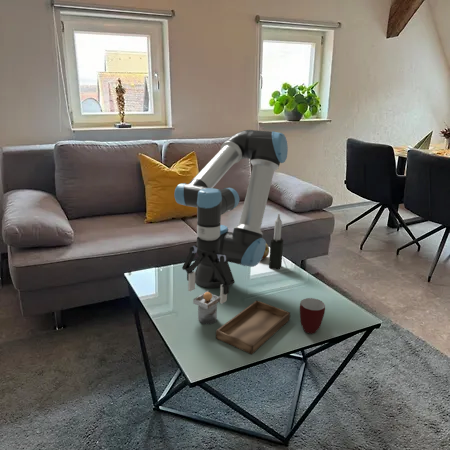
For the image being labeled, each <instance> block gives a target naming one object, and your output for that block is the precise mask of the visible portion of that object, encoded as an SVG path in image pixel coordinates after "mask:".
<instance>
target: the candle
mask: <svg viewBox="0 0 450 450" xmlns="http://www.w3.org/2000/svg"><path fill="white" fill-rule="evenodd" d="M282 224H283V222H282V219H281V214H280V213H278V214H277V217H276V219H275V220H274V230H273V231H274V232H273V233H274V234H273V237H272V238H271V239H270V245H269V246H270V247H269V261H268V269H273V270H277V271H279V270H281V268H282V261H283V250H284V239H283V238H281V237H282Z"/></svg>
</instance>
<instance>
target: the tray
mask: <svg viewBox="0 0 450 450" xmlns="http://www.w3.org/2000/svg"><path fill="white" fill-rule="evenodd" d="M290 318H291V312H289V311H286V310H285V309H282V308H279V307H276V306H273V305H270V304H268V303H265V302H262V301H260V300H255V301H253V303H251V304H249V305H248V306H247V307H246V308H244V309H243V310H242V311H240V312H239V313H238V314H236V315H235V316H234V317H232V318H231V319H229V320H228V321H227V322H225V323H224V324H223V325H221V326H220V327H219V328H217V329H216V330H215V340H218V341H221V342H223V343H225V344H227V345H230V346H232V347H234V348H235V349H238V350H240V351H243V352H245V353H247V354H249V355H252V356H253V354H254V353H255V352H257V350H258V349H259V348H261V347H262V346H263V345H264V344H265V343H266V342H267V341H268V340H269V339H271V338H272V337H273V336H274V335H275V334H276V333H277V332H278V331H279V330H280V329H281V328H283V327H284V326H285V325H286V324H287V323H288V322H289V321H290Z"/></svg>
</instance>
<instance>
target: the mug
mask: <svg viewBox="0 0 450 450" xmlns="http://www.w3.org/2000/svg"><path fill="white" fill-rule="evenodd" d="M299 305H300V306H299V317H300V319H299V320H300V323H301V327H302V329H303V330H304V332H305V333H307V334H309V333H310V334H311V335H313V334H316V333H317V331H318V330H319V329H320V327H321V326H322V323H323V319H324V316H325V313H326V304H325V302H323V301H322V300H320V299H318V298H313V297H309V298H308V297H307V298H303V299H301V301H300V304H299Z"/></svg>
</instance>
